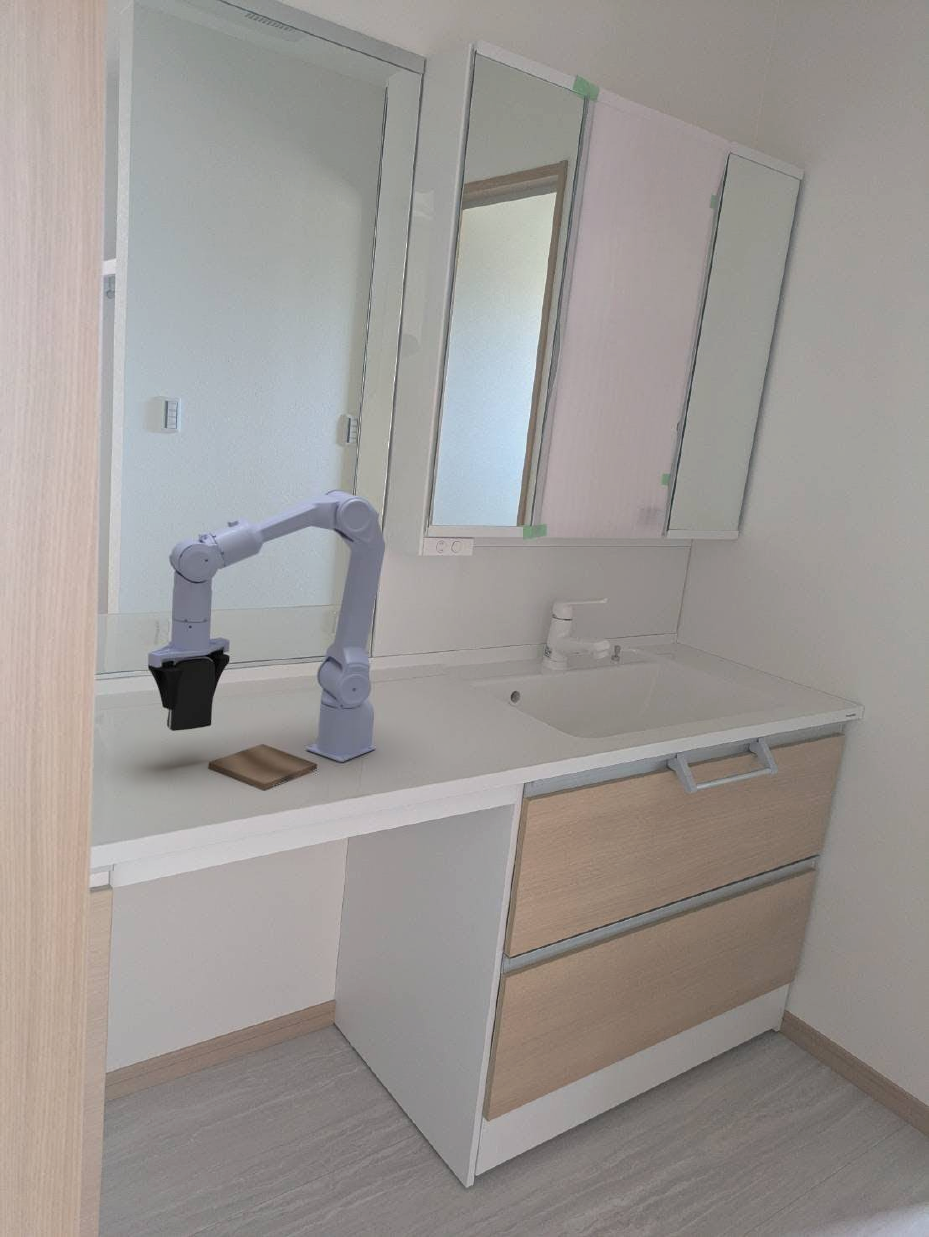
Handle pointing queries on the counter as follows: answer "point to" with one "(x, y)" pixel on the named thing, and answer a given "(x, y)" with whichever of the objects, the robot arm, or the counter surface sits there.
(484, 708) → the counter surface
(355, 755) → the robot arm
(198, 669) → the battery charger
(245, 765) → the walnut board
